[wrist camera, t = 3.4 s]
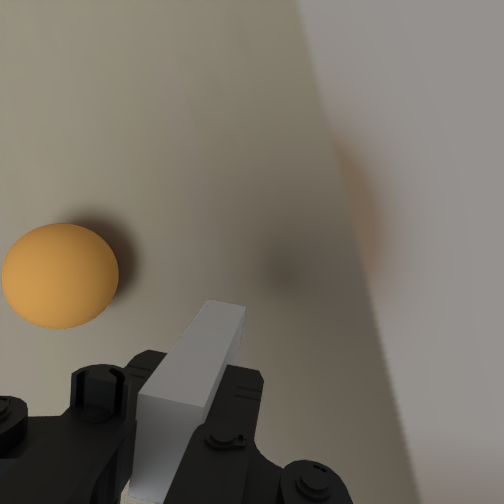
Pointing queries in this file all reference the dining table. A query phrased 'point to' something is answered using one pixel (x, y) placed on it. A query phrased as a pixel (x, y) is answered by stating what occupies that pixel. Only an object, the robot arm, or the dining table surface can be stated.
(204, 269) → the dining table surface
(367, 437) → the dining table surface
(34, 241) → the ball
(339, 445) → the dining table surface
